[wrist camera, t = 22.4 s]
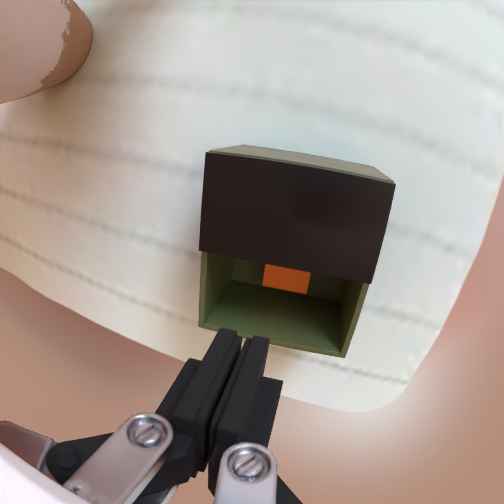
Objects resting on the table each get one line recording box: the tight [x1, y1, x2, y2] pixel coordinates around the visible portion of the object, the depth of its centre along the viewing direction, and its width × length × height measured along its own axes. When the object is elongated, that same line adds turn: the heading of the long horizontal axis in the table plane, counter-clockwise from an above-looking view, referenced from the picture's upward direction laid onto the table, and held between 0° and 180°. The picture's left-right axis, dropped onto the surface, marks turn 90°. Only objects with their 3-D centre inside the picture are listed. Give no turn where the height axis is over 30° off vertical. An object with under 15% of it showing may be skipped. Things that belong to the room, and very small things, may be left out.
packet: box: [262, 264, 311, 294], centre depth 31 cm, size 6×4×3 cm
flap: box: [199, 152, 396, 284], centre depth 22 cm, size 7×13×1 cm, turn 82°
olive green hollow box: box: [198, 145, 394, 358], centre depth 28 cm, size 15×13×10 cm
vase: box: [0, 0, 92, 104], centre depth 19 cm, size 16×16×23 cm
